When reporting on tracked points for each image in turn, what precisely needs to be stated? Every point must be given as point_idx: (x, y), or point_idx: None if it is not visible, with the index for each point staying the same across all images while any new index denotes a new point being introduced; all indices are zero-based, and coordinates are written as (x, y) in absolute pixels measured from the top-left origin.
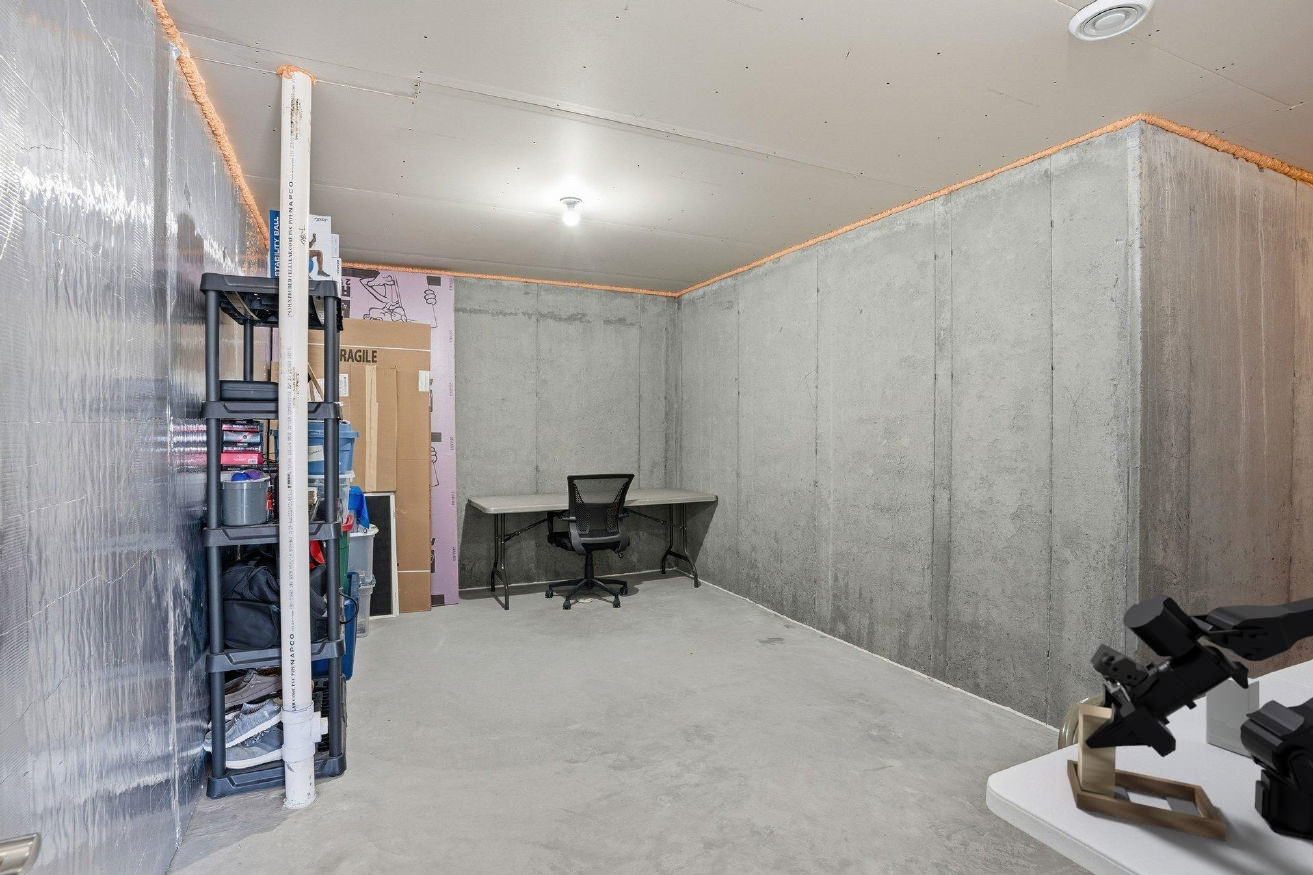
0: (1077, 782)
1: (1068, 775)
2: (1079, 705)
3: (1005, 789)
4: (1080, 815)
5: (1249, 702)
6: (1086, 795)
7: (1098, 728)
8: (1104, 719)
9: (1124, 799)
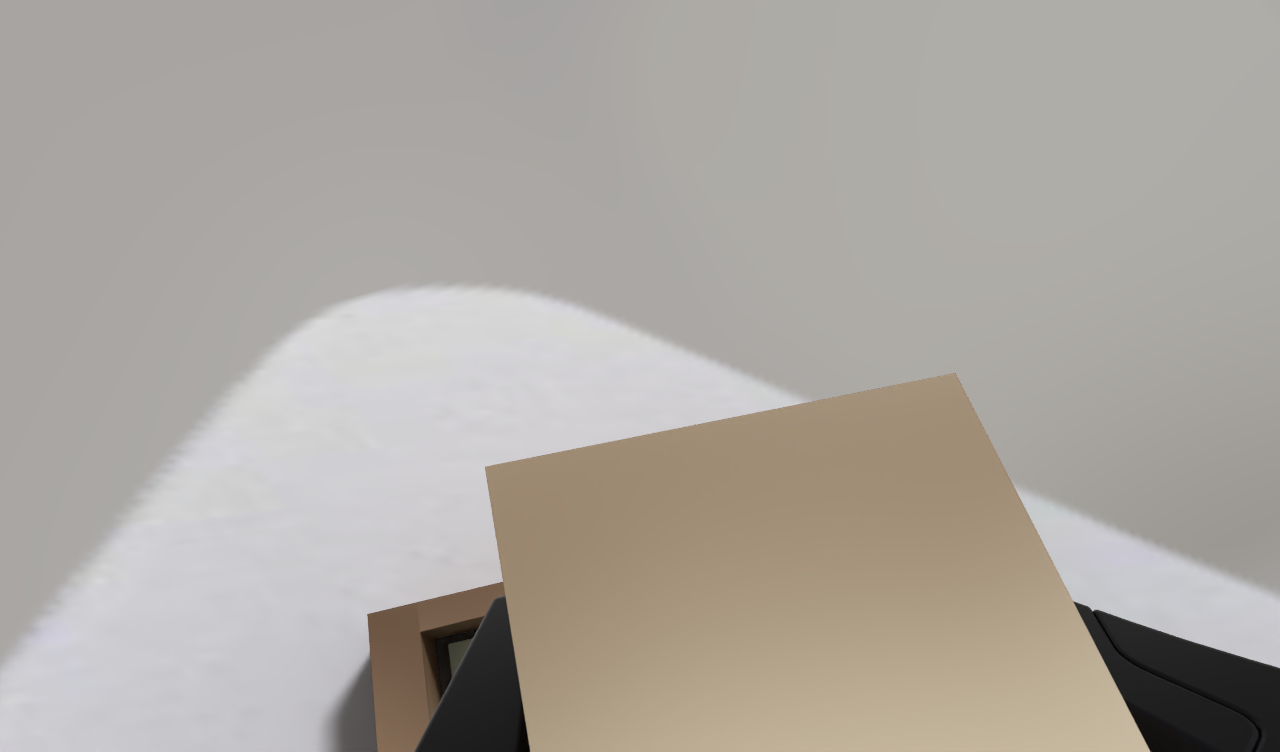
0: None
1: None
2: (916, 389)
3: (384, 308)
4: (300, 656)
5: None
6: (373, 672)
7: (515, 744)
8: None
9: None
